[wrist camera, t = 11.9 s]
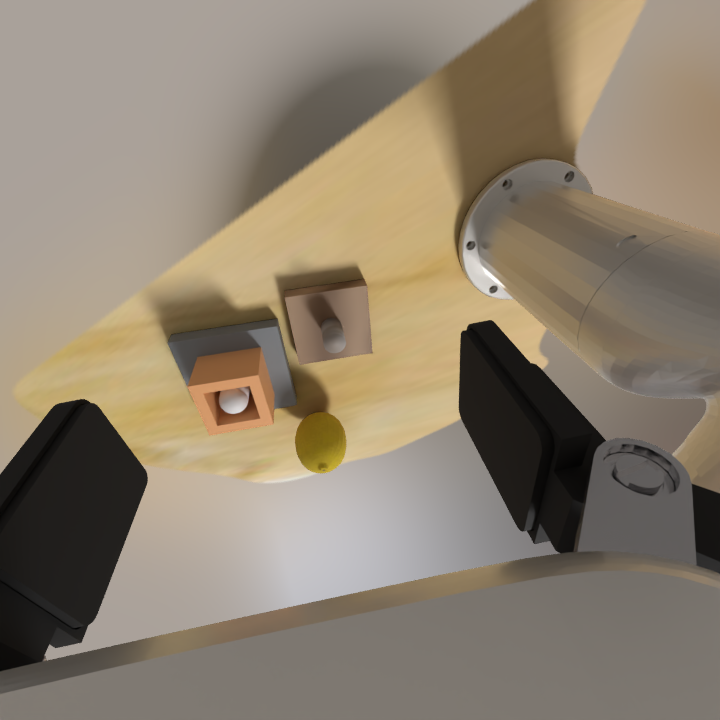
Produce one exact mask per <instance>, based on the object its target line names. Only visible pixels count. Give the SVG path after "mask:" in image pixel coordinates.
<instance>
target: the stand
mask: <svg viewBox="0 0 720 720" xmlns="http://www.w3.org/2000/svg"><path fill="white" fill-rule="evenodd" d="M285 301H286V306H287V310H288V315H289V319H290V324H291V328H292V333H293V337H294V342H295V346H296V351H297V355H298V360H299V364H300V365H301V364H307V363H313V362H320V361H326V360H332V359H338V358H344V357H350V356H357V355H363V354H369V353H372V342H371V329H370V316H369V303H368V291H367V284H366V282H365V279H361V280H354V281H347V282H340V283H334V284H327V285H320V286H313V287H306V288H299V289H292V290H286V291H285Z"/></svg>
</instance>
